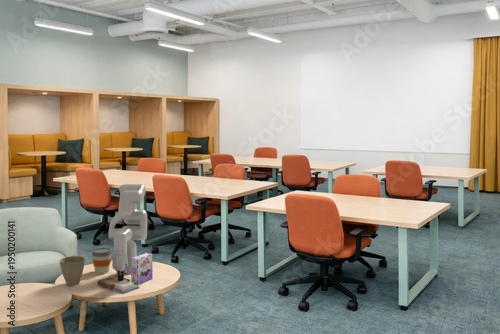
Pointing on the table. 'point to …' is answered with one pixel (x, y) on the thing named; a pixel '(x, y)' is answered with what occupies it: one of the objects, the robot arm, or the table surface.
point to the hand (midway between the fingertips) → (120, 280)
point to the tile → (124, 285)
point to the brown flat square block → (110, 282)
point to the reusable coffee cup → (101, 260)
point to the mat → (126, 290)
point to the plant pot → (72, 269)
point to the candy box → (141, 268)
